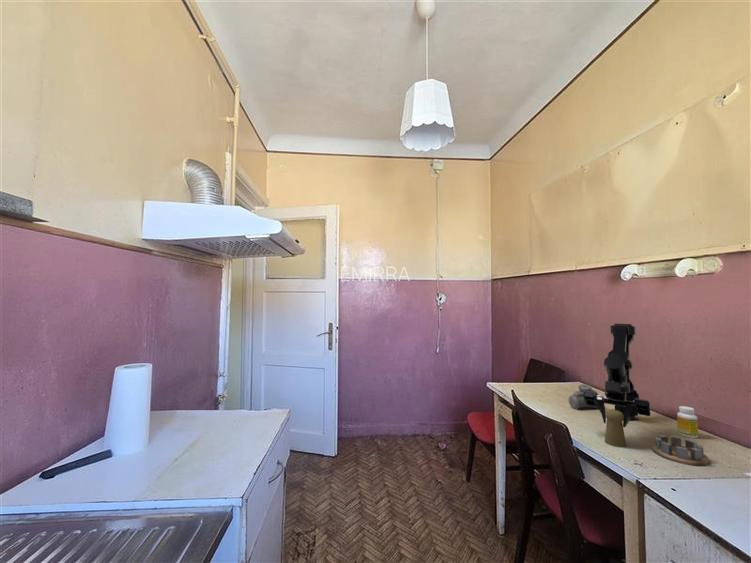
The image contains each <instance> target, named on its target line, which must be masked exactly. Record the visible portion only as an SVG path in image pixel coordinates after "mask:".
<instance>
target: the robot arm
mask: <svg viewBox="0 0 751 563" xmlns="http://www.w3.org/2000/svg"><path fill="white" fill-rule="evenodd" d="M609 326H610V334H611V335H612V337H613V343H612V350H610V351H609V352H608V353H607V357H605V359H604V360H603V366H604V367H605V371H606V375H607V380H606V381H605V382H604V395H605V396H603V395H600V394H599V395H597V393H598V392H597V391H596V392H592V391H585V392H584V395H583V397H584V400H585V404H587V405H590V406H595V407H596V408H595V409H597V410H599V412H600V415H601V417H602V420H603V423H604V424H607V418H606V416H605V412H606V406H605V404H607V405H612V406H614V410H617V411H620V412H622V414H623V415H624V419H623V421H622V424H623V429H624V428H626V427H627V425H628V424H629V422H630V421H636V420H637V421H638V420H639V417H637V416H639V415H640V416H644V417H645V416H646V417H650V416H651V404H650V401H648V399H641V398H640V395H639V393H638V391H637V390H636V389H635V386H634V384H633V381H631V374H630V373H631V371H630V370H632V368H633V367H634V364H633V362H632V361H631V359H630V356H631V355H630V345H631V344H632V343H633V342H634V339H635V336H637V335H636V333H637V332H636V330H637V329H636V326H633V324H631V323H614V324H613V325H609ZM590 406H589V407H590Z"/></svg>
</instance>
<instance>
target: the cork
mask: <svg viewBox="0 0 751 563" xmlns="http://www.w3.org/2000/svg"><path fill="white" fill-rule="evenodd" d="M605 411H606V412H605V416H606V425H605V426H606V427H605V436H604V443H606V444H607V445H609V446H612V447H617V448H626V447H627V440H626V435H625V431H624V427H623V419H624V415H623V414H622V412H620V411H617V410H615V409H611V408H610V409H607V410H606V409H605Z"/></svg>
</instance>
